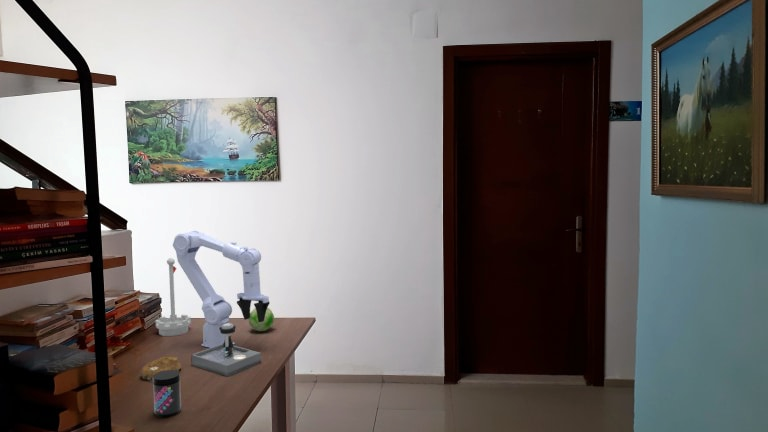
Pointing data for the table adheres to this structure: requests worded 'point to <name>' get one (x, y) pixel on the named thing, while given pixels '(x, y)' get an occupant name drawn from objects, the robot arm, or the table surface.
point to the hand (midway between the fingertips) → (254, 320)
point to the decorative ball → (264, 324)
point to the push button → (227, 337)
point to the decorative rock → (159, 367)
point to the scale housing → (227, 361)
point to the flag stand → (173, 312)
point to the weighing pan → (220, 355)
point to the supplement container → (167, 393)
